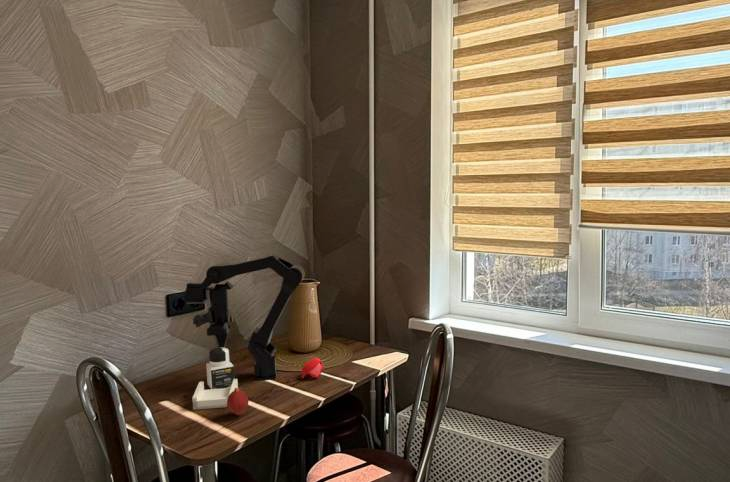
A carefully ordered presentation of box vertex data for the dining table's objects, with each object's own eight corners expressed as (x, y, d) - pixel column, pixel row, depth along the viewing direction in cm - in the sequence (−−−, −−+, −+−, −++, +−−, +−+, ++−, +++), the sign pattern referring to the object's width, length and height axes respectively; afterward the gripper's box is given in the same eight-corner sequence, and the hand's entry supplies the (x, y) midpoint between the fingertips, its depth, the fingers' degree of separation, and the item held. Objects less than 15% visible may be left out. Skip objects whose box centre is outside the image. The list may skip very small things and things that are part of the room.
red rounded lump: (229, 411, 162) (227, 384, 161) (250, 410, 162) (248, 382, 161) (226, 420, 156) (224, 391, 155) (247, 418, 156) (246, 390, 156)
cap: (321, 362, 192) (306, 354, 191) (327, 361, 187) (311, 353, 185) (312, 384, 189) (296, 377, 188) (317, 384, 184) (301, 376, 182)
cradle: (238, 389, 178) (237, 378, 178) (233, 406, 165) (233, 394, 165) (200, 392, 177) (199, 381, 176) (193, 409, 164) (192, 398, 163)
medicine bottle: (212, 391, 177) (209, 354, 176) (207, 384, 184) (204, 348, 182) (235, 387, 180) (232, 350, 179) (229, 380, 187) (227, 344, 185)
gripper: (198, 298, 195) (201, 342, 197) (188, 310, 177) (191, 360, 179) (231, 296, 197) (234, 340, 198) (225, 308, 178) (228, 357, 180)
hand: (222, 349), depth 189 cm, fingers closed
